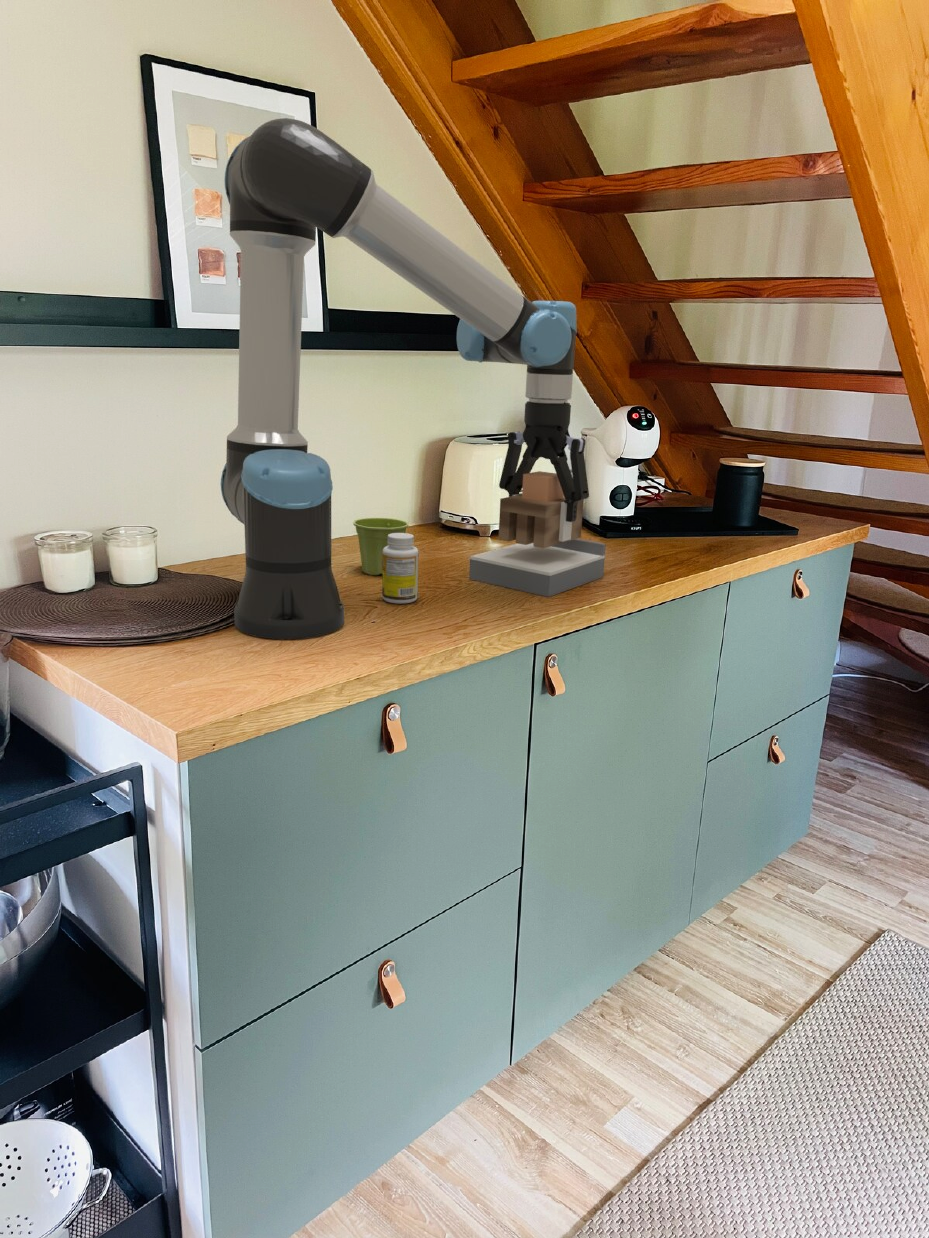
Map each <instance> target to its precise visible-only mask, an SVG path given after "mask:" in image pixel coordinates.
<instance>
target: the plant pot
mask: <svg viewBox="0 0 929 1238" xmlns="http://www.w3.org/2000/svg"><path fill="white" fill-rule="evenodd" d="M352 523H353V526H355V531H356V534H357V537H358V544H359V545H358V546H359V553H360V559H361V569H362V571H363V573H365V574H367V575H372V576H379V575H382V552H383V549H384V547H386V546H388V543H387V541H388V535H389V534H392V533H406V532H407V528H408V527H409V524H410V523H409V522H408V521H406V520H402V519H398V518H388V517H367V518H363V517H362V518H357V519H355V520H354V521H353V522H352Z"/></svg>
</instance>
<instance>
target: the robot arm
mask: <svg viewBox="0 0 929 1238" xmlns="http://www.w3.org/2000/svg"><path fill="white" fill-rule="evenodd" d="M224 189H225V195H226V198H227V201H228V203H229V235H230V237H231V239H233V241H234V242H235V244H237V246H238V248H239V249H240V275H239V276H240V277H239V279H240V282H239V284H240V285H239V286H240V287H239V292H240V293H239V331H238V334H239V337H238V338H239V339H238V340H239V343H238V344H239V345H238V391H237V392H238V396H237V401H238V403H237V425H236V427H235V428H234V429H233V430H232V431H231V432H230V433H229V434H228V435H227V436H226V455H225V456H226V461H225V462H226V463H225V465H224V467H223V469H222V471H221V472H222V473H221V476H220V477H221V478H220V491H221V496H222V499H223V502H224V503H225V506H226V507H227V509H228V511H229V512H230V513H231V514H232V516H234V517H235V518H236V520H238V521H239V522H240V523H241V524H243V525H244V549H245V551H244V554H245V572H244V576H243V579H242V580H243V581H242V585H241V588H240V591H239V596H238V601H237V602H236V604H235V606H234V611H233V612H234V613H233V616H234V627H235V628H236V629H237V630H238V631H240V632H241V633H244V634H246V635H250V636H254V637H257V638H258V637H259V638H264V639H265V638H266V639H276V640H277V639H278V640H279V639H280V640H294V639H295V640H298V639H309V638H315V637H320V636H321V637H322V636H325V635H328V634H331V633H333V632H336V631H338V630H340V629H341V628H343V626H344V624H345V606H344V603H343V601H342V600H341V599H340V593H339V588H338V585H337V583H336V580H335V576H334V573H333V570H332V568H333V567H332V492H333V488H334V487H333V481H332V476H331V475H332V474H331V467H330V465H329V463H328V462H327V461H326V459H324V458H322V457H321V456H320V455H317V454H314V453H312V452H308V445H309V444H308V443H309V442H308V441H307V439H306V438H305V437H304V436H303V434H302V433H301V432H300V430H299V429H298V428H299V406H300V405H299V404H300V403H299V401H300V381H301V379H300V375H301V374H300V373H301V349H302V346H301V345H302V324H303V323H302V321H303V320H302V319H303V318H302V317H303V315H302V314H303V294H304V292H303V290H304V289H303V288H304V261H305V256H306V254H307V253H308V252H310V250H311V249H313V247H315V246H316V240H317V239H316V237H317V235H316V234H317V229H319V230H320V231H322V232H323V233H325V234H326V235H327V236H329V237H330V238H332V239H336V238H340V237H341V238H343V237H344V238H346V239H348V240H349V241H350V242H352V243H353V244H354V245H356V246H357V247H358V248H360V249H362V250H363V251H364V252H366V253H367V254H368V255H370V256H371V257H373V258H374V259H376V260H377V261H378V262H380V263H381V264H383V265H384V266H385V267H387V268H389V270H390V271H393V272H394V273H396V274H397V275H398V276H400V277H401V278H402V279H403V280H405V281H406V282H408V283H409V284H411V285H412V286H413V287H415V288H416V289H418V290H419V291H421V292H422V293H423V294H425V295H426V296H427V297H429V298H430V299H432V300H433V301H435V302H436V303H437V304H439V305H441V306H442V307H443V308H445V309H446V310H447V311H449V312H451V314H453V315H455V316H456V317H457V318H459V322H458V325H457V328H456V345H457V351H458V352H459V355H460V356H461V358H462V359H463V360H465V361H468V362H478V363H483V362H486V363H502V364H504V363H505V364H515V365H526V381H525V383H526V384H525V395H524V396H525V398H527V399H528V401H526V403H524V418H523V419H524V420H523V421H524V424H525V427H524V430H523V432H521V431H511V432H509V433H508V434H507V439H508V440H507V441H508V444H507V445H508V446H507V447H508V448H507V451H506V456H505V459H504V463H503V468H502V472H501V474H500V475H501V476H500V480H499V485H498V487H499V488H500V489H501V490H505V491H506V492H507V493H508V497H511V496H516V495H521V494H522V489H523V474H526V473H532V472H531V471H532V470H533V468H534V466H535V464H536V461H538V460H539V459H540V458H543V459H545V460H549V461H550V464H551V465H553V468H554V471H555V473H556V474H557V477H558V480H559V482H560V485H561V488H562V491H563V494H564V497H565V501H564V502H561V514H560V529H559V541H561V542H563V541H567V540H570V539H571V530H572V522H573V521H575V520H576V518H577V504H578V502H579V501H580V500H583V499H584V500H586V499H589V497H590V491H589V483H588V476H587V475H588V474H587V468H586V467H587V466H586V461H585V460H586V459H585V447H586V442H587V441H586V439H585V438H583V437H580V438H576V437H572V436H571V435H570V432H569V427H570V423H571V414H572V413H571V411H572V410H571V409H572V405H571V404H570V403H569V402H568V401H569V400H571V399H572V394H573V393H572V392H573V380H574V378H573V376H574V364H575V363H574V361H575V351H576V350H575V349H576V338H577V337H576V336H577V332H578V331H577V307H576V305H575V304H574V303H573V302H571V301H562V300H558V301H557V300H534V301H531V300H529V299H528V298H526V297H525V296H523V295H522V294H520V293H519V292H518V291H517V290H516V289H514V288H513V287H512V286H510V285H509V284H507V283H506V282H505V281H503V279H501V278H500V277H499V276H498V275H496V274H494V273H493V272H491V270H489V269H488V268H487V267H486V266H485V265H482V264H481V262H479V261H477V260H476V259H475V258H473V257H472V256H471V255H469V254H468V253H467V252H466V251H465V250H463V249H461V247H459V246H458V245H457V244H456V243H454V242H453V241H452V240H450V239H449V238H447V237H446V236H445V235H443V234H442V233H441V232H440V231H438V230H437V229H436V228H434V227H433V226H432V225H431V224H429V223H428V222H427V221H426V220H424V219H422V217H420V215H419V216H418V214H416V213H415V212H414V211H412V210H411V209H410V208H408V207H407V206H406V205H405V204H404V203H401V201H399V200H398V199H397V198H395V197H394V196H392V195H391V194H390V193H389V192H387V191H386V190H385V189H384V188H382V187H381V186H380V185H378V184H377V182H376V179H375V174H374V170H373V169H371V167H369V166H367V165H366V164H365V163H364V162H362V161H361V160H360V159H358V158H357V157H356V156H355V155H354V154H352V153H351V152H349V151H348V150H347V149H346V148H345V147H343V146H342V145H341V144H340V143H338V142H337V141H336V140H334V139H332V138H331V137H330V136H328V135H327V134H325V133H324V132H323V131H321V130H320V129H318V128H317V127H315V126H313V125H312V124H309V123H308V122H305V121H303V120H299V119H294V118H287V117H283V118H276V119H271V120H268V121H266V122H264V123H263V124H261V125H260V126H258V127H257V129H255V130H254V131H253V132H252V134H251V135H250V136H247V137H246V138H244V139H243V140H242V141H240V142H239V143H238V145H236V146H235V147H234V148H233V151H232V152H231V154H230V157H229V158H228V160H227V163H226V167H225V171H224ZM524 443H525V445H526V448H525V451H524V453H523V454H522V460H521V462H520V464H519V461H520V457H521V453H522V450H523V444H524ZM567 446H568V447H567ZM565 448H567V449H568V450H569V451H570V452H569V457H570V466H571V469H570V466H569V464H568V456H567V453H566V451H565ZM518 465H519V466H518ZM584 500H583V501H584Z"/></svg>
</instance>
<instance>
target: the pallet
mask: <svg viewBox="0 0 929 1238" xmlns="http://www.w3.org/2000/svg"><path fill="white" fill-rule="evenodd" d="M499 501H500V502H499V522H498V525H499V526H498V541H503V542H512V541H515V544H523V545H528V544H531V543H533V546H534V547H539V548H547V547H550V546H554V545H557V544H560V543H564V542H567V541H571V540H574V539H582V526H583V524H582V523H583V511H584V501H585V499H583V500H580V501H579V502H578V504H577V518H576V520H575V521H573V522H572V530H571V539H570V540H567V541H563V542H561V541H559V529H560V514H561V502H564V501H565V497H564V494H563V498H562V499H557V500H553V501H548V502H546V501H539V500H533V499H526V498H522V494H521V495H516V496H511V497H509V496H506V497H502V498H500V500H499Z"/></svg>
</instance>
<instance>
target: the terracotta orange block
mask: <svg viewBox="0 0 929 1238" xmlns="http://www.w3.org/2000/svg"><path fill="white" fill-rule="evenodd" d="M521 493H522V498H526V499H533V500H539V501H546V502H548V501H553V500H557V499H562V498H563V491H562V488H561V485H560V482H559V480H558V477H557V474H556V472H548V471H533V472H530V473H526V474H523V488H522V492H521Z"/></svg>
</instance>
